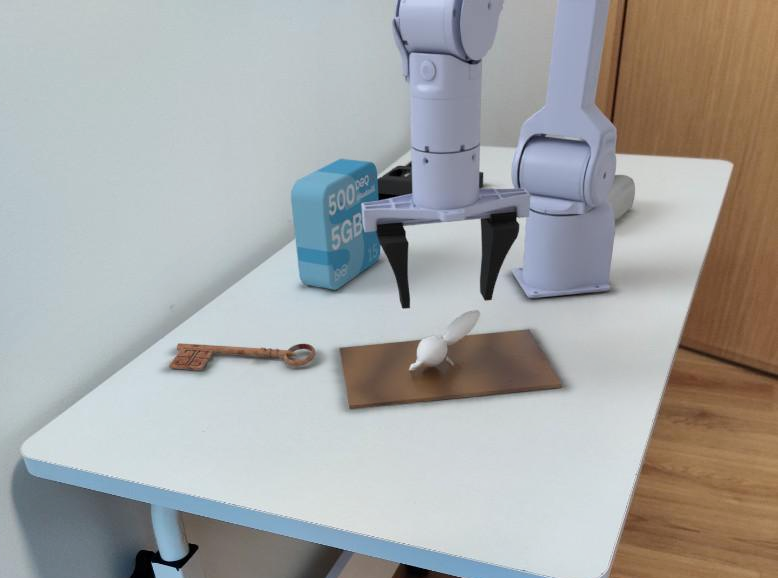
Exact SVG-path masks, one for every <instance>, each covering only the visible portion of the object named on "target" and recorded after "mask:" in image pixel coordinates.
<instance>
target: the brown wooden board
mask: <svg viewBox="0 0 778 578" xmlns="http://www.w3.org/2000/svg"><path fill="white" fill-rule="evenodd" d="M421 340H422V339H417V340H407V341H394V342H385V343H375V344H365V345H364V344H363V345H355V346H345V347H339V348H338V351H339V357H340V363H341V367H342V368H341V369H342V374H343V379H344V385H345V391H346V397H347V402H348V408H349V410H354V409H364V408H372V407H383V406H394V405H404V404H413V403H421V402H422V403H423V402H431V401H441V400H452V399H463V398H471V397H482V396H490V395H492V396H493V395H500V394H510V393H519V392H521V393H522V392H530V391H540V390H551V389H559V388H560V389H561V388H562V386H563V383H562V382H561V380H560V378H559V376H558V375H557V373H556V371H555V370H554V368H553V367H552V364H551V363H550V362H549V360H548V358H547V356H546V355H545V353H544V352H543V350H542V348H541V347H540V345H539V343H538V342H537V340H536V338H535V337H534V335H533V333H532V331H531V330H530V328H528V329H527V328H526V329H517V330H508V331H497V332H487V333H477V334H467V335H466V336H465V337H463V338H461V339H460V340H458V341H457V342H456V343H454V344H452V345H449V346H448V345H447V354H446V357H445V358H444V360H443V361H442V362H441V363H440V364H439V365H436V366H431V367H429V366H424V365H421V366H420V367H419V368H417V369H416V370H415V371H410V370H409V368H410V366H411V364H414V363H416V360H417V348H418V345H419V343H420V342H421ZM447 357H448V358H449V359H450V360H451V361H452V362H453V363H454V364H453V365H452V364H450V363H449V362H448V361H447V360H446V359H447Z"/></svg>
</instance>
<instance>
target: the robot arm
mask: <svg viewBox="0 0 778 578" xmlns="http://www.w3.org/2000/svg"><path fill="white" fill-rule="evenodd" d="M504 3H505V0H396V1H395V5H394V18H392V19H391V28H392V29H391V30H392V35H393V39H394V43H395V45H396V48H397V50H398V52H399V54H400V57H401V58H400V59H401V69H402V76H403V77H404V81H405V82H406V83H407V84H409V98H410V99H409V105H410V106H409V107H410V109H409V110H410V149H411V150H410V153H411V166H412V194H408V195H403V196H402V195H397V196H394V197H389V198H385V199H380V200H378V201H374V202H366V203H361V207H362V223H363V228H364V231H365V232H374V231H376V234H377V237H378V240H379V243H380V245H381V249H382V250H383V253H384V255H385V256H386V258H387V260H388V263H389V265H390V267H391V269H392V273H393V275H394V278H395V282H396V286H397V290H398V291H397V292H398V298H399V303H400V305H401V306H400V307H401V309H410V308H411V295H410V285H409V241H408V239H407V231H406V229H405V228H404V227H407V226H408V227H409V226H419V225H430V224H441V223H451V222H461V221H472V220H480V237H481V261H480V275H479V292H480V294H481V297H482V298H483V300H484V301H485V302H486V301H492V300H493V296H494V291H495V286H496V283H497V280H498V277H499V274H500V271H501V269H502V266H503V264H504V262H505V260H506V258H507V256H508V253H509V251H510V249H511V248H512V246H513V245H514V243H515V241H516V240H517V239H518V236H519V234H520V233H519V232H520V223H519V222H518V220H517V218H519V219H522V218H523V219H524V218H525V231H524V232H525V233H524V248H523V265H522V267H516V268H513V269H512V275H513V276H514V279H516V281H517V283H518V284H519V286H520V287H521V289H522V290H523V292H524V294H525V296H526V297H527V298H528V299H537V298H546V297H547V298H548V297H557V296H567V295H577V294H579V295H580V294H589V293H600V292H608V291H610V290H611V285H610V284H609V283H610V282H609V281H610V274H611V266H612V258H613V251H614V243H615V236H616V235H615V234H616V220H615V218H614V212H613V209H612V206H611V204H610V203H609V202H608V201H604V200H605V199H606V197H607V196H608V194H609V192H610V190H611V187H612V184H613V181H614V177H615V175H616V171H617V155H616V152H617V151H616V150H617V138H618V134H617V132H618V129H617V127H616V126H615V125H614V124H613V123H612V121H611V120H610V119H609V118H608V117H607V116H606V115H605V114H604V113H603V112H602V111H601V109H600V108H598V106H597V104H596V96H597V91H598V90H597V89H598V82H599V76H600V69H601V63H602V56H603V50H604V43H605V37H606V29H607V23H608V17H609V10H610V3H611V0H557V6H556V13H555V14H556V15H555V23H554V30H553V32H554V33H553V40H552V47H551V56H550V63H549V71H548V80H547V86H546V87H547V88H546V97H545V104H544V105H543V107H541V108H540V109H539V110H537V111H536V112H535V113H534V114H532V115H531V116H529V117H528V118H527V119H526V120H525V121H523V123H522V124H521V128H520V133H519V139H518V143H517V147H516V148H515V149H516V150H515V151H514V155H513V157H512V162H511V169H510V171H511V172H510V173H511V174H510V175H511V183H512V187H513V188H483V187H482V188H479V172H480V167H481V166H480V161H481V159H480V157H481V120H482V119H481V118H482V117H481V115H482V79H483V78H482V77H483V58H484V57H485V56H486V55H487V53H488V52H489V51H490V50H491V49H492V48H493V45H494V43H495V39H496V35H497V31H498V26H499V20H500V19H499V18H500V16H501V12H502V10H503V9H504ZM547 135H550V136H547ZM551 136H559V137H551ZM560 137H566V138H560ZM567 137H568V138H567ZM569 138H576V139H569ZM577 138H578V139H579V140H577ZM580 139H581V140H580Z"/></svg>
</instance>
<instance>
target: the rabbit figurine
mask: <svg viewBox="0 0 778 578" xmlns="http://www.w3.org/2000/svg"><path fill="white" fill-rule="evenodd" d="M480 316H481V311H480V310H478V309H475V310H470V311H467V312H464V313H462V314H460V316H458V317H456V318H455V319H454V320H452V321H451V323H450V324H448V326H447V327H446V328H445V331H444V332H443V335H442V337H441V336H439V335H430V336H427V337H424V338H422V339H420V340H421V342H420V343H419V345H418V348H417V360H416V363H414V364H411V366H410V368H409V370H410V371H415V370H416V369H417V368H419V367H420V366H421V365H424V366H429V367H431V366H436V365H439V364H440V363H441V362H442V361H443V360H444V358H445V357H446V354H447V345H448V346H449V345H452V344H454V343H456V342H457V341H458V340H460V339H461V338H463V337H465V336H466V335H469V333H470V332H471V331H472V330H473V329H474V327H475V326H477V323H478V321H479V318H480ZM446 360H447V361H448V362H449V363H450V364H452V365H453V364H454V363H453V362H452V361H451V360H450V359H449V358H448V357H447V359H446Z"/></svg>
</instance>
